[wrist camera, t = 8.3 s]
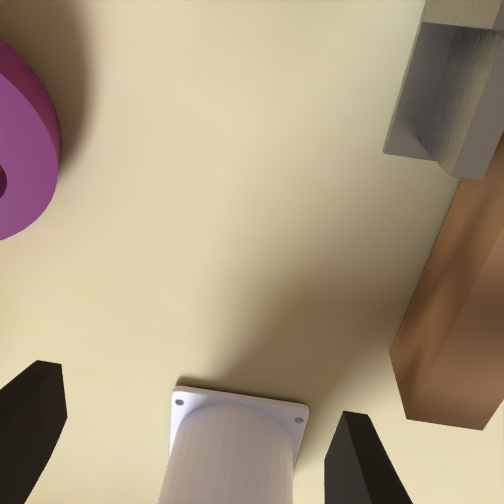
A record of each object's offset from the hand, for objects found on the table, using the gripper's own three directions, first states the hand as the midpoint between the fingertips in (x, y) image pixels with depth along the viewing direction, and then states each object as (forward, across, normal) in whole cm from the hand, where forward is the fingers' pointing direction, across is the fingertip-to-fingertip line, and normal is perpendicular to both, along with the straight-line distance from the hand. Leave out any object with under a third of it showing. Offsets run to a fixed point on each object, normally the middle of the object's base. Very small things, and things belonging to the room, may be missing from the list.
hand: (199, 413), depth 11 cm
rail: (+10, -10, -1) cm, 14 cm away
